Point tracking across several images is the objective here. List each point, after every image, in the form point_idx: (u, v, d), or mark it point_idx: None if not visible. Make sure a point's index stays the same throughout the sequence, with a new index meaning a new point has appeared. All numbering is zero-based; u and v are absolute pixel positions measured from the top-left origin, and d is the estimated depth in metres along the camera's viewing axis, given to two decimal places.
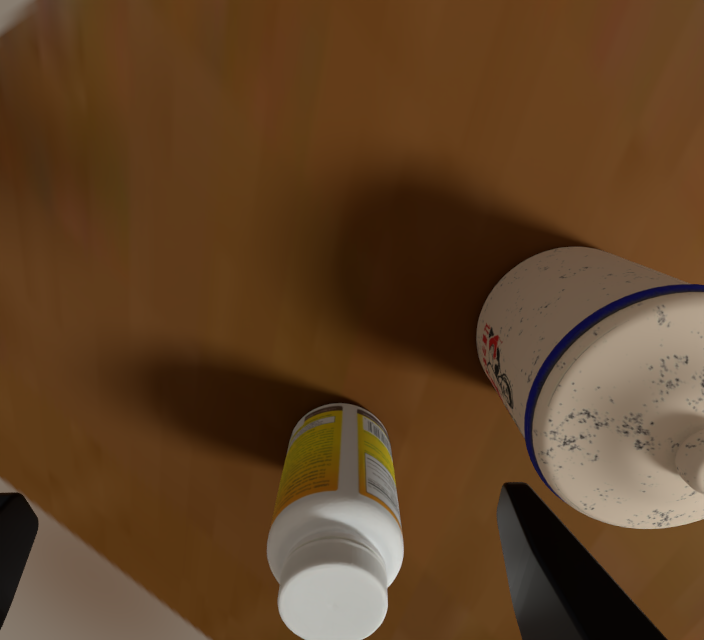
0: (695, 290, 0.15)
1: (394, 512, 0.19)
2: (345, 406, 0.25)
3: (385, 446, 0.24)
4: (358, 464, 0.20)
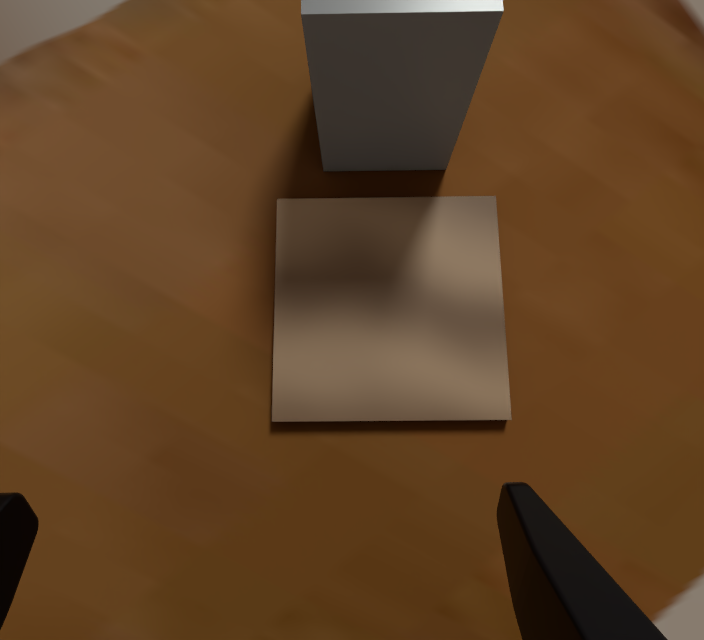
0: None
1: None
2: None
3: None
4: None
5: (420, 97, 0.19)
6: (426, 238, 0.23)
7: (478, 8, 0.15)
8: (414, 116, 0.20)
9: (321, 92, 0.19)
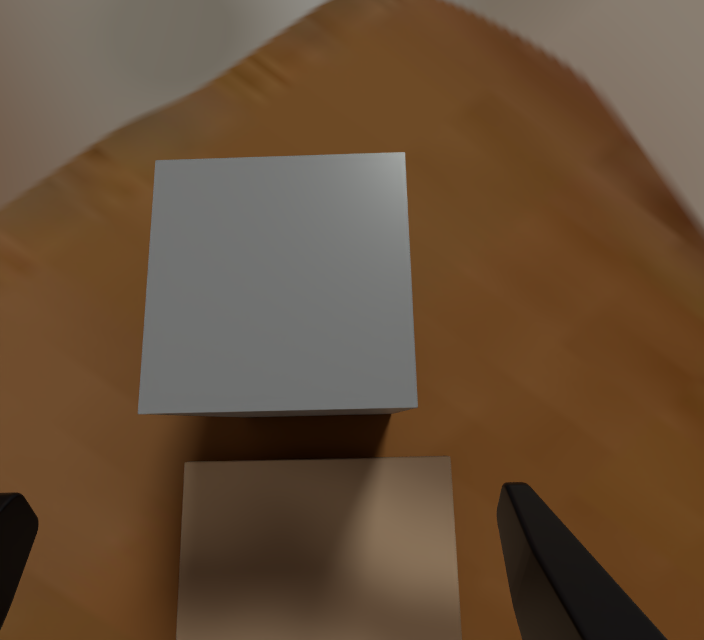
0: None
1: None
2: None
3: None
4: None
5: (336, 412, 0.15)
6: (365, 515, 0.19)
7: (383, 402, 0.11)
8: (335, 413, 0.16)
9: (206, 415, 0.15)
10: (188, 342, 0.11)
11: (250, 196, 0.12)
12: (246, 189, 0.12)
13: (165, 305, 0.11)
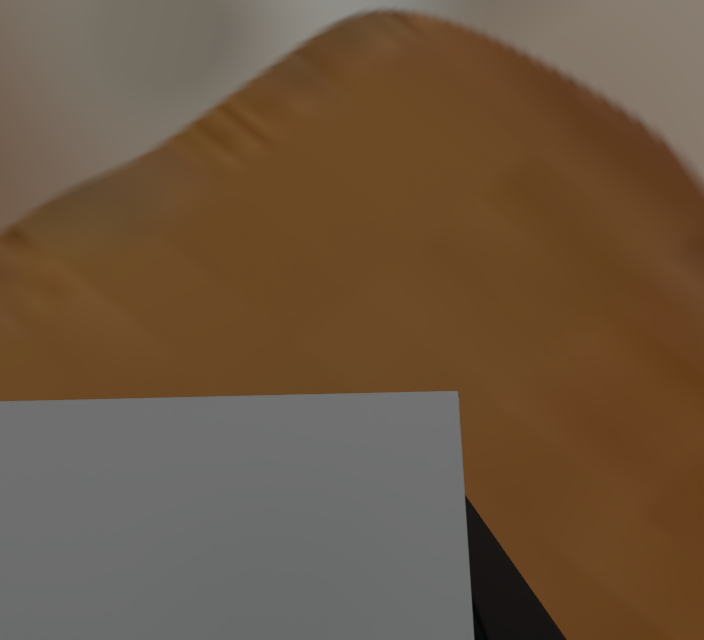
0: None
1: None
2: None
3: None
4: None
5: None
6: None
7: None
8: None
9: None
10: None
11: (163, 481, 0.06)
12: (156, 465, 0.06)
13: None
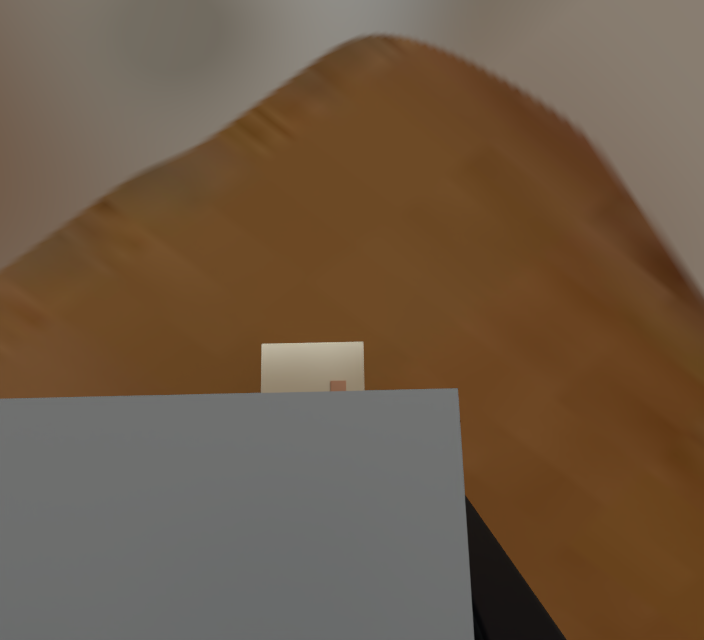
0: None
1: None
2: None
3: None
4: None
5: None
6: None
7: None
8: None
9: None
10: None
11: (163, 478, 0.06)
12: (156, 463, 0.06)
13: None
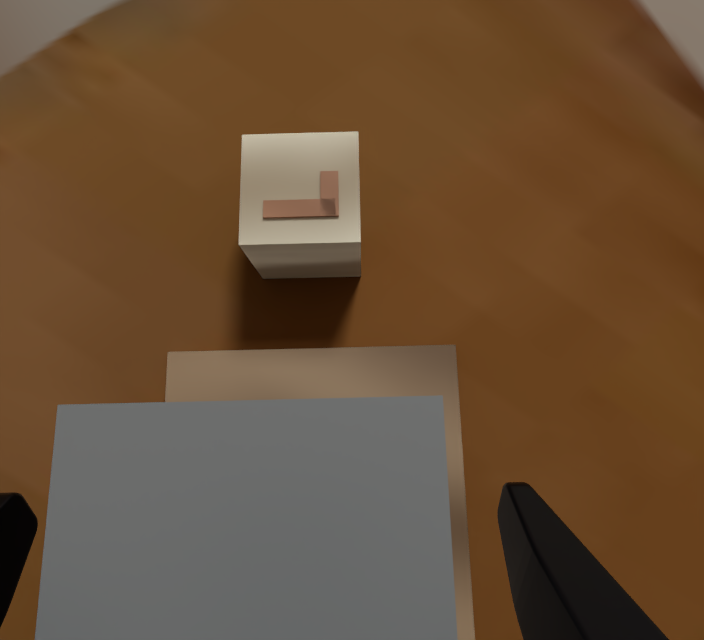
0: None
1: None
2: None
3: None
4: None
5: None
6: None
7: None
8: None
9: None
10: None
11: (203, 469, 0.08)
12: (196, 456, 0.08)
13: None
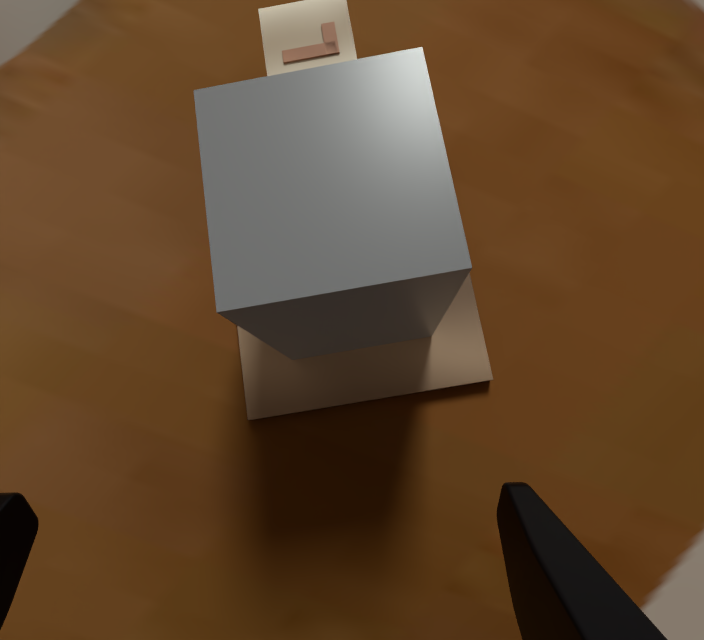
0: None
1: None
2: None
3: None
4: None
5: (386, 317, 0.16)
6: None
7: (439, 268, 0.12)
8: (384, 325, 0.17)
9: (267, 335, 0.15)
10: (251, 243, 0.12)
11: (286, 107, 0.13)
12: (281, 102, 0.13)
13: (225, 214, 0.12)
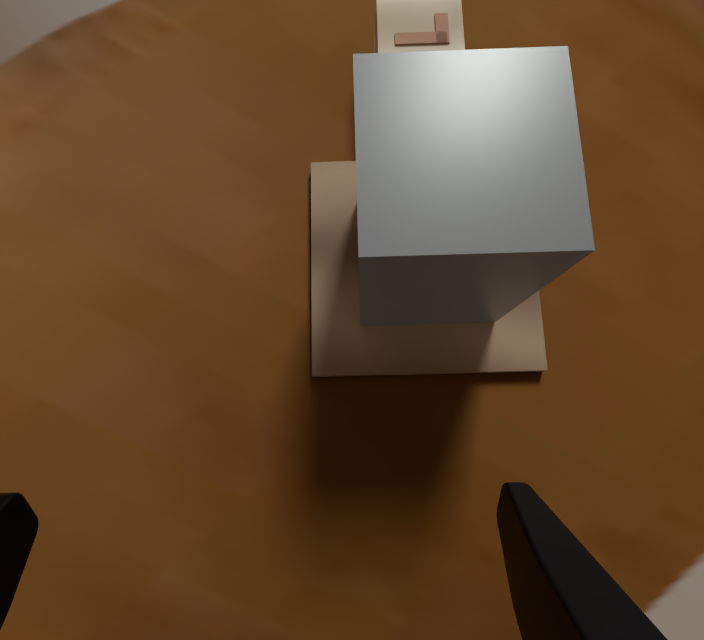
0: None
1: None
2: None
3: None
4: None
5: (480, 292, 0.17)
6: None
7: (565, 246, 0.13)
8: (469, 300, 0.18)
9: (369, 292, 0.17)
10: (396, 200, 0.13)
11: (437, 82, 0.14)
12: (433, 77, 0.14)
13: (373, 171, 0.13)
